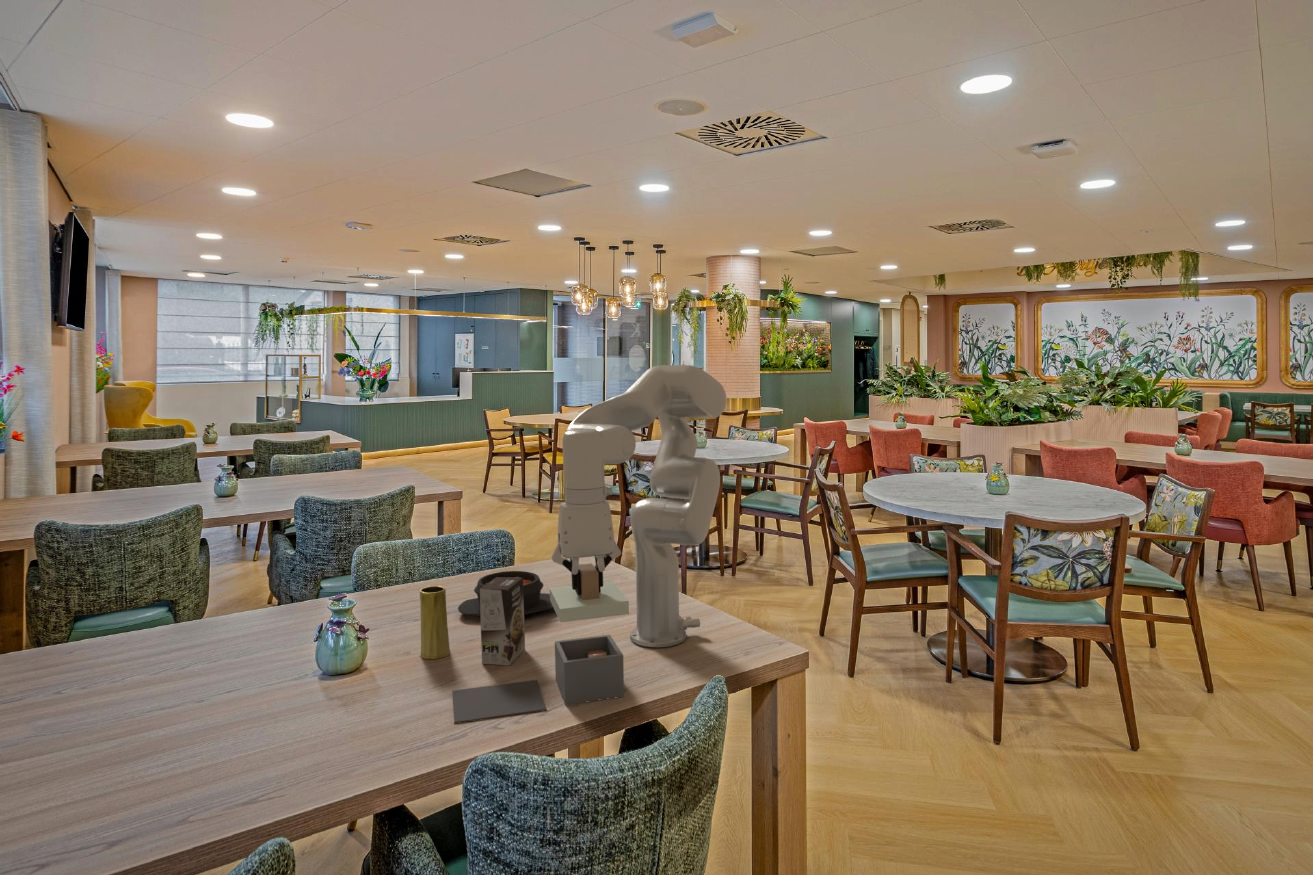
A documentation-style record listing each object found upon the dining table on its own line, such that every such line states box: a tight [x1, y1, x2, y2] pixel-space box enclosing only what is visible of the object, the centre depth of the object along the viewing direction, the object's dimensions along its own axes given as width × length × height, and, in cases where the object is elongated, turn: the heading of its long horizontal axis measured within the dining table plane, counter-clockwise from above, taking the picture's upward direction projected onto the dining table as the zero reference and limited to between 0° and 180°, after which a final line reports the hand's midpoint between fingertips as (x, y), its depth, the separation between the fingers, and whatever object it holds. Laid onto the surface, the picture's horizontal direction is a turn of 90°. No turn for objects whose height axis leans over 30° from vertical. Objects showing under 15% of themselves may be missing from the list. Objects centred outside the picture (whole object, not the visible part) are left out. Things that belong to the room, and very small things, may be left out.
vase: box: [419, 585, 451, 660], centre depth 162 cm, size 6×6×14 cm
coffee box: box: [479, 577, 526, 666], centre depth 160 cm, size 9×6×16 cm
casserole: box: [457, 570, 554, 617], centre depth 189 cm, size 25×19×8 cm
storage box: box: [554, 634, 625, 706], centre depth 144 cm, size 11×11×8 cm
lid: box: [549, 562, 630, 623], centre depth 143 cm, size 13×13×8 cm
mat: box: [452, 679, 547, 724], centre depth 140 cm, size 16×13×1 cm
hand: (587, 590), depth 143 cm, fingers closed on lid, 3 cm apart
